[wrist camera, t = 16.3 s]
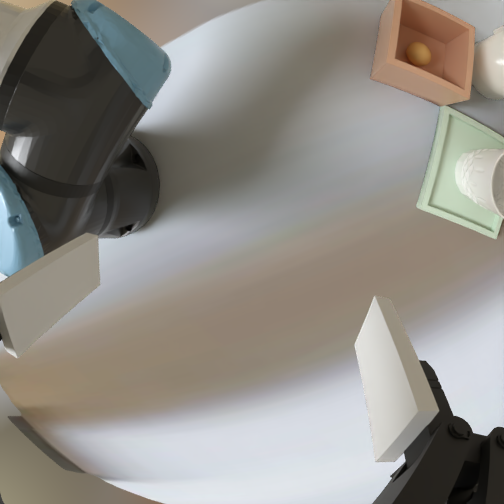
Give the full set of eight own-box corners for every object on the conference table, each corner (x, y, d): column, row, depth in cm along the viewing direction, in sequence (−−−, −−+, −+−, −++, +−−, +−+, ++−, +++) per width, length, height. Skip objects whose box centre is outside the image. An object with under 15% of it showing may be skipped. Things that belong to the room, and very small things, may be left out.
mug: (461, 83, 28) (496, 72, 19) (465, 23, 24) (495, 3, 15) (505, 109, 27) (542, 107, 19) (508, 50, 23) (541, 38, 15)
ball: (401, 63, 28) (409, 56, 25) (404, 42, 27) (412, 34, 24) (424, 72, 28) (433, 67, 25) (427, 52, 26) (436, 45, 24)
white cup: (484, 138, 29) (528, 140, 20) (499, 192, 31) (542, 207, 21) (442, 156, 31) (482, 161, 22) (460, 212, 33) (499, 233, 24)
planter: (369, 78, 30) (386, 62, 23) (380, 16, 27) (395, -10, 19) (440, 106, 30) (469, 99, 22) (448, 44, 26) (474, 27, 18)
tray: (416, 206, 35) (420, 209, 33) (440, 106, 30) (445, 105, 28) (490, 236, 33) (495, 239, 32) (513, 147, 28) (519, 147, 27)
